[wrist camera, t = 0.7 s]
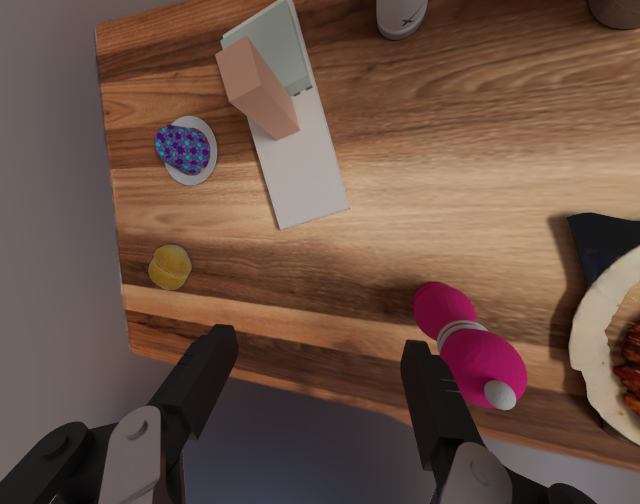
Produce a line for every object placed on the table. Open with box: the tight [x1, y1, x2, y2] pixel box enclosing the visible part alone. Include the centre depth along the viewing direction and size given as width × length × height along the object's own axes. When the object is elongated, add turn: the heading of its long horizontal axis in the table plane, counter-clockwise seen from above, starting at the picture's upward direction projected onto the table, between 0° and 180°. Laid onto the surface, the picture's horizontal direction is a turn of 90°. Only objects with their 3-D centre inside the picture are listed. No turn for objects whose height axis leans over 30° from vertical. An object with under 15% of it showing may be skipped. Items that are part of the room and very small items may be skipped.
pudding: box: [154, 116, 217, 185], centre depth 39 cm, size 12×12×5 cm
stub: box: [215, 35, 300, 140], centre depth 29 cm, size 5×4×12 cm
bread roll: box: [148, 245, 192, 290], centre depth 44 cm, size 8×9×4 cm
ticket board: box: [220, 0, 350, 230], centre depth 35 cm, size 32×12×4 cm, turn 16°
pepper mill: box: [413, 282, 527, 410], centre depth 25 cm, size 7×7×20 cm
